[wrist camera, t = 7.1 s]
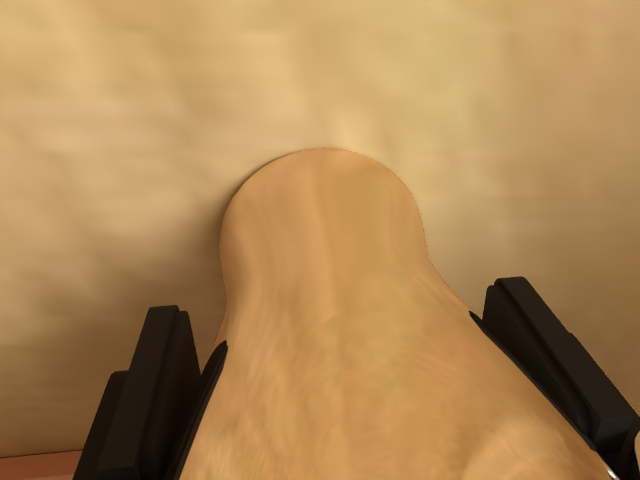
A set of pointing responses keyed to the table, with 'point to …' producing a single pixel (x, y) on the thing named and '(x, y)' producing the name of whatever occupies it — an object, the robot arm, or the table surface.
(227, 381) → the beer glass
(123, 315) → the table surface
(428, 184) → the table surface
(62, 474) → the terracotta coaster
